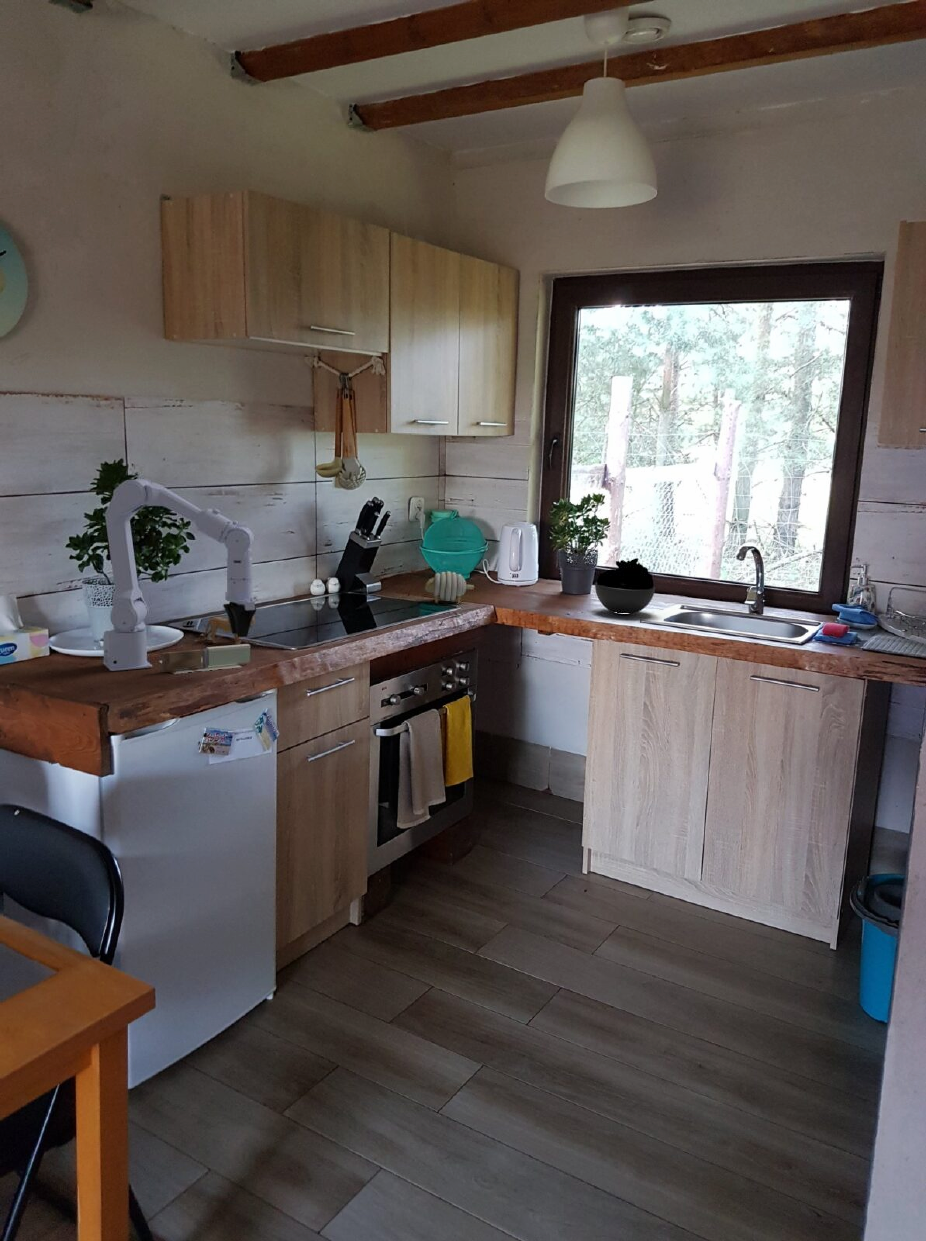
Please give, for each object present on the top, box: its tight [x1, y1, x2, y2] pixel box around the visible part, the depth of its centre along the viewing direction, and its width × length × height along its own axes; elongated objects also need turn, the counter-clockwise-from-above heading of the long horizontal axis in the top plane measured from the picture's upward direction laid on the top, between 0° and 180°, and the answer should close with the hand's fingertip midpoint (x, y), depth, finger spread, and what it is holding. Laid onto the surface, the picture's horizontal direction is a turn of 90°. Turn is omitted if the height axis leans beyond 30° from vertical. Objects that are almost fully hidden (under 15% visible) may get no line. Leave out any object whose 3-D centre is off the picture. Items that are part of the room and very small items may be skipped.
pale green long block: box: [201, 643, 251, 667], centre depth 227 cm, size 12×2×4 cm, turn 123°
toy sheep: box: [424, 570, 475, 603], centre depth 325 cm, size 11×17×11 cm, turn 98°
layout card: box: [159, 660, 243, 675], centre depth 228 cm, size 16×13×1 cm
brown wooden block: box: [161, 649, 202, 674], centre depth 221 cm, size 9×4×4 cm, turn 123°
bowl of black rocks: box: [594, 557, 656, 614], centre depth 318 cm, size 20×20×19 cm
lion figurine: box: [198, 615, 256, 645], centre depth 252 cm, size 15×5×9 cm, turn 92°
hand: (239, 635), depth 223 cm, fingers open, 3 cm apart
